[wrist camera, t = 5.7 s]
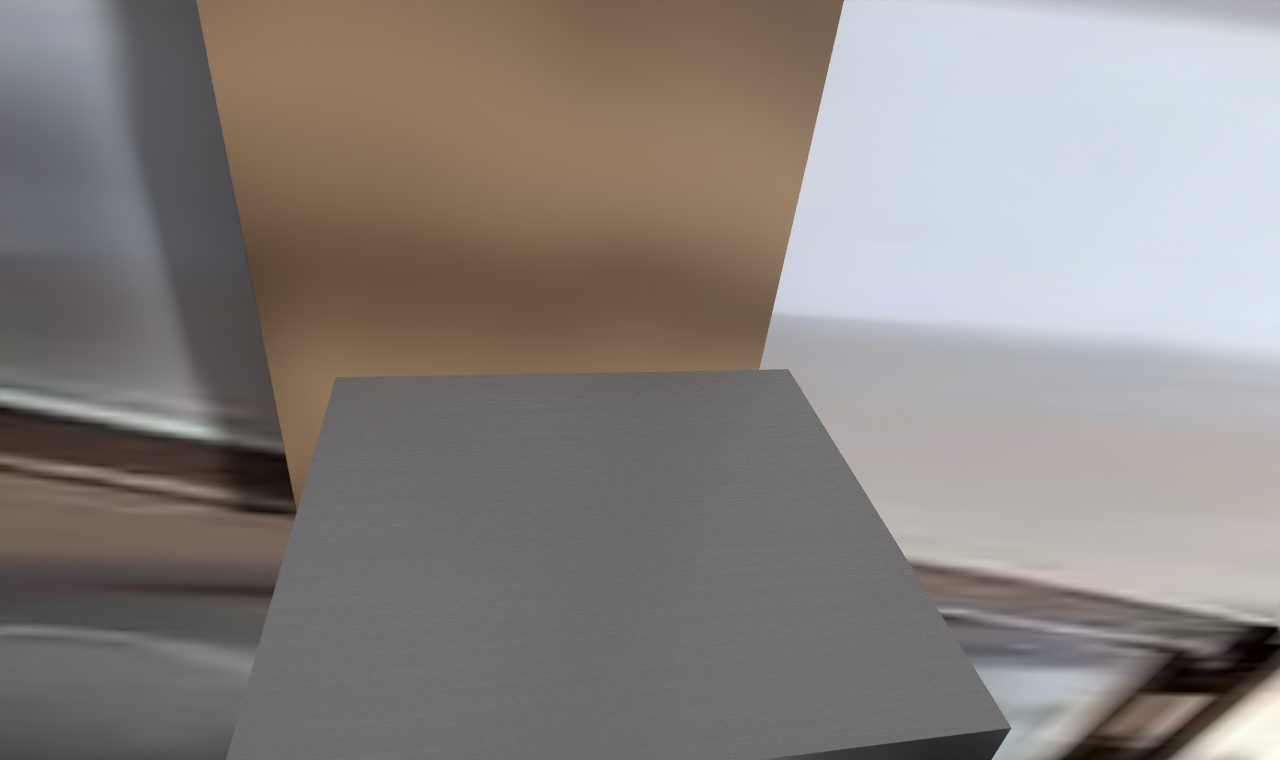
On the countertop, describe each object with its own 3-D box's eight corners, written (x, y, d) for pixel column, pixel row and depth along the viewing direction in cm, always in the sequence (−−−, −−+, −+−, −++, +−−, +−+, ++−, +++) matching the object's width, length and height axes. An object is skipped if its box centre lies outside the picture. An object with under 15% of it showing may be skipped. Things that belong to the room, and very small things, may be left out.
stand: (701, 497, 23) (718, 545, 21) (321, 515, 21) (308, 569, 19) (815, -64, 15) (856, -57, 13) (209, -137, 13) (169, -138, 11)
